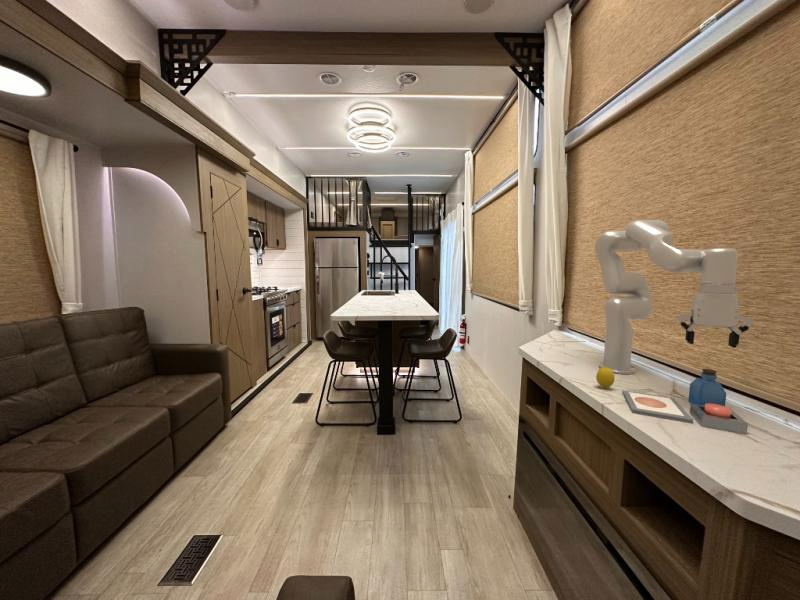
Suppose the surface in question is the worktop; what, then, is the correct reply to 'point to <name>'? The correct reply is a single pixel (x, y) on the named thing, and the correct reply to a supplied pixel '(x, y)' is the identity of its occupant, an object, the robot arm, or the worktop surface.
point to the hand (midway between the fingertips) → (710, 344)
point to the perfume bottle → (706, 390)
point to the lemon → (605, 377)
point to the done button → (717, 410)
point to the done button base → (718, 420)
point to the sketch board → (656, 406)
